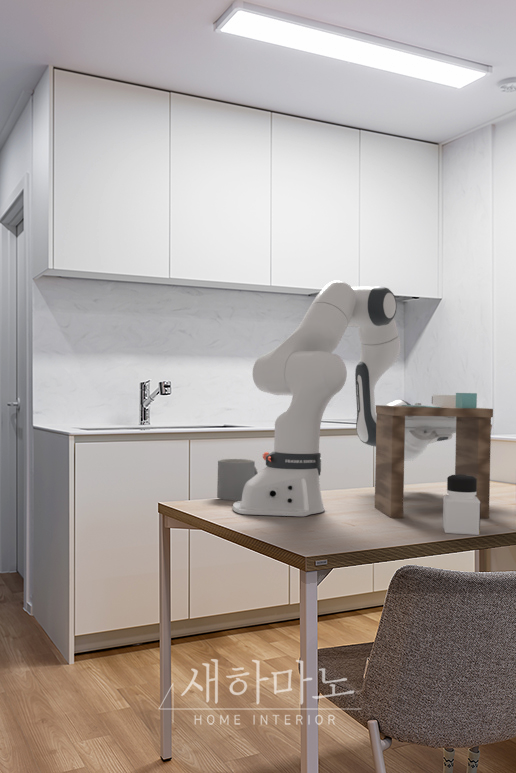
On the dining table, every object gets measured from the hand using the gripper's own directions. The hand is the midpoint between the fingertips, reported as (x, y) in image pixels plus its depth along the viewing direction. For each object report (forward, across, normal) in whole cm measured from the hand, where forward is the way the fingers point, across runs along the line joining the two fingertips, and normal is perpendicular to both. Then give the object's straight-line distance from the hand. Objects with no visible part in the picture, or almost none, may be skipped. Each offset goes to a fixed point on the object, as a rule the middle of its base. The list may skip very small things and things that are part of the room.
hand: (435, 405), depth 188 cm
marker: (+10, 0, +6) cm, 11 cm away
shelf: (+1, -7, +31) cm, 31 cm away
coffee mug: (-19, -52, +20) cm, 59 cm away
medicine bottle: (+20, -8, +42) cm, 47 cm away
